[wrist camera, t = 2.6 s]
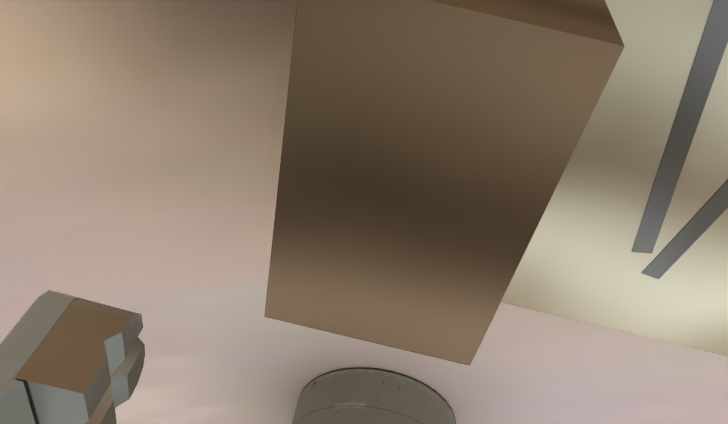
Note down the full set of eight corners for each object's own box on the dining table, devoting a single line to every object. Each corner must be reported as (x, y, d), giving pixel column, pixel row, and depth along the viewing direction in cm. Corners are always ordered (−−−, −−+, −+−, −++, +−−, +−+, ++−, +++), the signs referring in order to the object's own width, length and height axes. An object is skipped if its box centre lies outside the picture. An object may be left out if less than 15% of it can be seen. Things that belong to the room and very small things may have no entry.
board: (351, -244, 14) (334, -240, 12) (1170, -56, 14) (1259, -26, 12) (292, 214, 23) (278, 250, 21) (786, 330, 23) (808, 376, 21)
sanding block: (351, -99, 14) (300, -30, 10) (585, -45, 14) (625, 45, 10) (307, 200, 20) (264, 316, 16) (472, 239, 20) (469, 365, 16)
